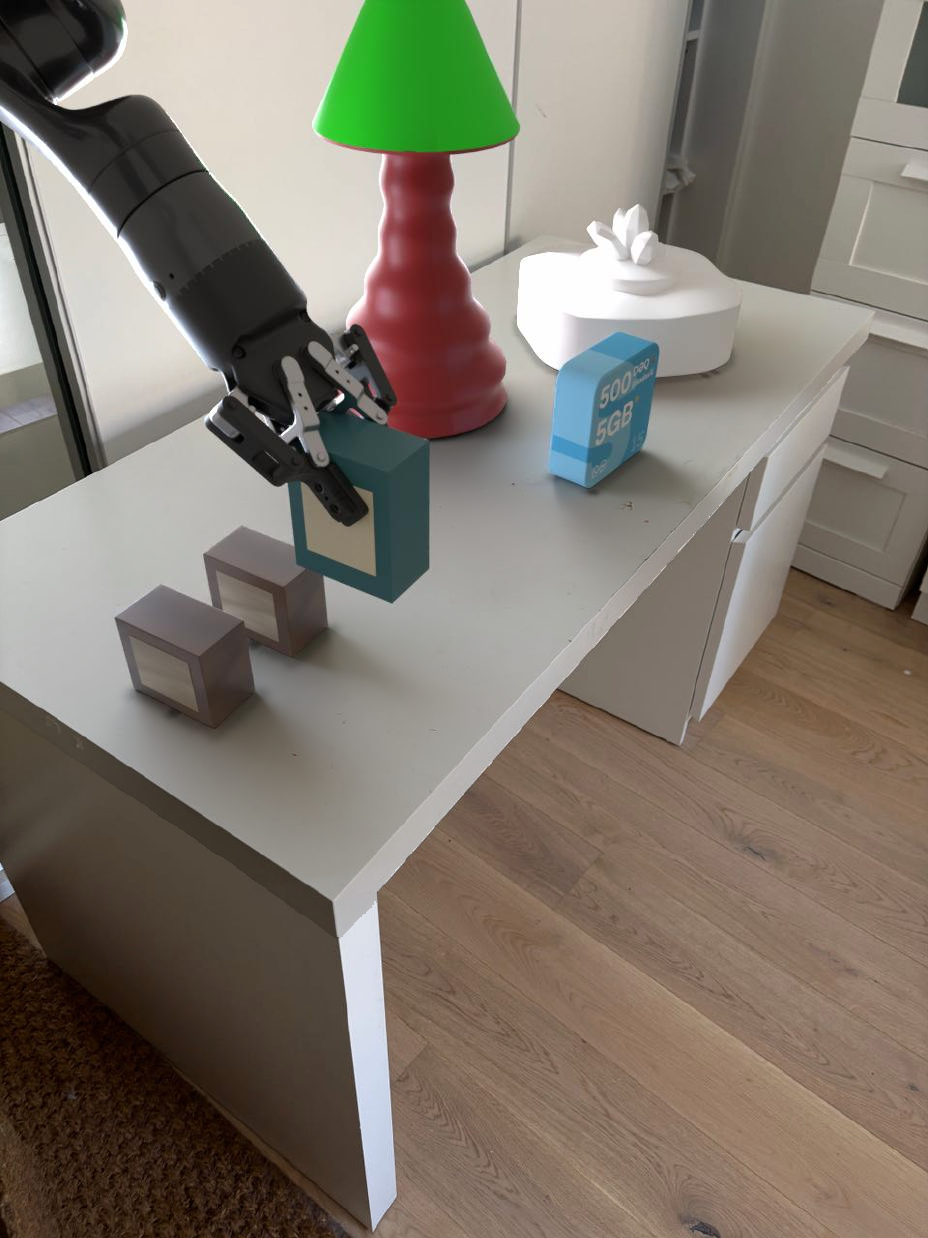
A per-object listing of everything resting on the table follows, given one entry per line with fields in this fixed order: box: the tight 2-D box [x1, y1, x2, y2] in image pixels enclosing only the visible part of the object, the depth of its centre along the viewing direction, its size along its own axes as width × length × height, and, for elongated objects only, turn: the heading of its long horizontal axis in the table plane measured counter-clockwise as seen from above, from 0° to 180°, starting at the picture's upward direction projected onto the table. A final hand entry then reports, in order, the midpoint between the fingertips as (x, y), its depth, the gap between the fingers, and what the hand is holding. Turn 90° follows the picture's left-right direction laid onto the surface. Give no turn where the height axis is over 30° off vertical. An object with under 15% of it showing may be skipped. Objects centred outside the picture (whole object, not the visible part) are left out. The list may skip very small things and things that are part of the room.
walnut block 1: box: [113, 583, 256, 729], centre depth 70 cm, size 5×8×7 cm, turn 59°
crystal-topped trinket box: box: [516, 203, 744, 379], centre depth 119 cm, size 25×25×16 cm
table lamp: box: [311, 0, 521, 440], centre depth 95 cm, size 20×20×45 cm
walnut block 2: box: [202, 524, 329, 658], centre depth 76 cm, size 5×8×7 cm, turn 59°
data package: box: [548, 332, 660, 489], centre depth 96 cm, size 12×4×12 cm, turn 142°
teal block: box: [287, 411, 431, 604], centre depth 63 cm, size 5×8×10 cm, turn 59°
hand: (382, 499), depth 62 cm, fingers closed on teal block, 4 cm apart
